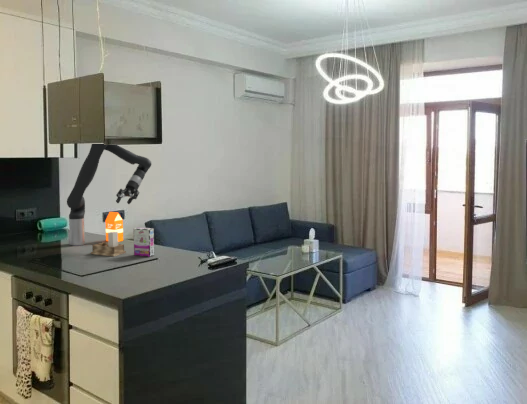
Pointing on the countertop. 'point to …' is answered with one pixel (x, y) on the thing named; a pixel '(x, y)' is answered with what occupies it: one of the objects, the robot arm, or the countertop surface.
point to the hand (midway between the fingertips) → (122, 202)
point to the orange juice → (114, 225)
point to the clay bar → (112, 239)
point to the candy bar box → (144, 242)
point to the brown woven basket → (108, 249)
